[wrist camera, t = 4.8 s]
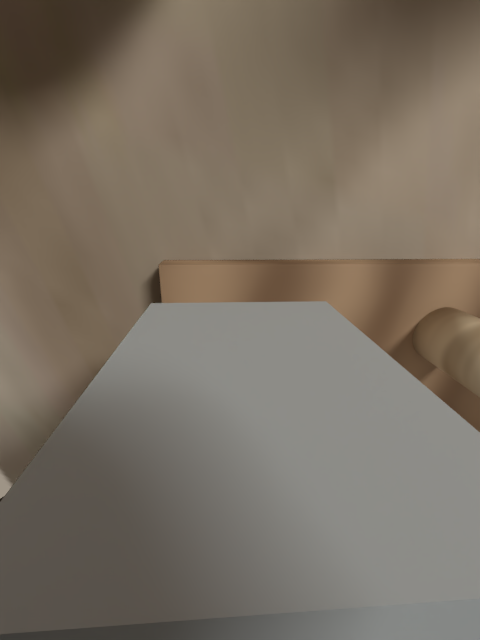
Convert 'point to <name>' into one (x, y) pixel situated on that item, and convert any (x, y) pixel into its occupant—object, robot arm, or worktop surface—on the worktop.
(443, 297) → the board
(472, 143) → the worktop surface
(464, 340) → the peg
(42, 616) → the block
